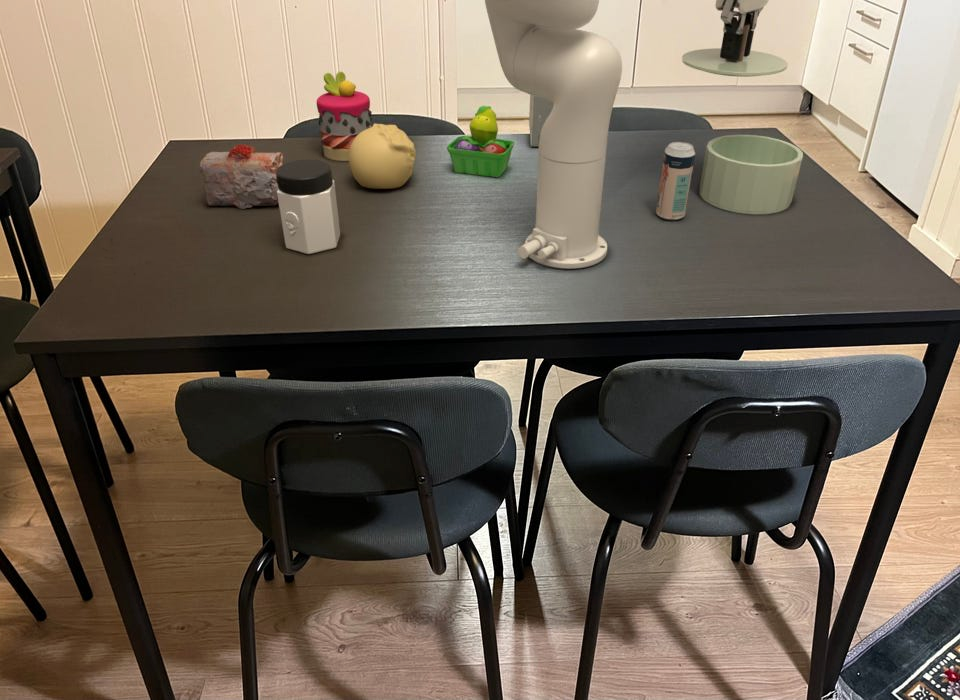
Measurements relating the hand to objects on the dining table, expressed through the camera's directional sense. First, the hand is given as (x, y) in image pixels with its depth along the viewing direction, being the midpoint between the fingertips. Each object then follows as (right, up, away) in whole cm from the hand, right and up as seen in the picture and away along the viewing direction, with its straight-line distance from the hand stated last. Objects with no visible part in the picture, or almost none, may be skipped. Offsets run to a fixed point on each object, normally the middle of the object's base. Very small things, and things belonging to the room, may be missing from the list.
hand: (734, 55), depth 124 cm
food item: (-82, -22, +8) cm, 85 cm away
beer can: (-10, -26, +3) cm, 28 cm away
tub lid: (0, -1, +1) cm, 1 cm away
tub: (+5, -21, +10) cm, 24 cm away
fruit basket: (-41, -14, +21) cm, 48 cm away
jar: (-68, -31, -5) cm, 75 cm away
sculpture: (-59, -18, +15) cm, 64 cm away
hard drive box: (-27, -3, +37) cm, 46 cm away
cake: (-68, -8, +29) cm, 75 cm away
